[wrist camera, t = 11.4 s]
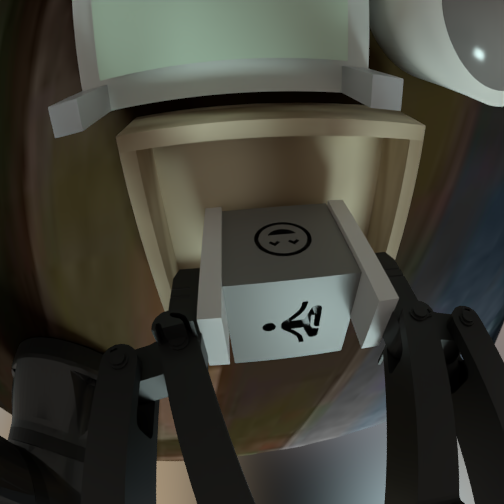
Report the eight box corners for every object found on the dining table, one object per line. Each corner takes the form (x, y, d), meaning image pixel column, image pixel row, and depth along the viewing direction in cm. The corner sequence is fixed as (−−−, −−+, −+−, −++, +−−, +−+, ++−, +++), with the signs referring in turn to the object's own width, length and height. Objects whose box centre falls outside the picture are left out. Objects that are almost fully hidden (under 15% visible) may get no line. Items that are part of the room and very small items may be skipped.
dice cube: (318, 279, 18) (340, 350, 14) (231, 287, 18) (235, 362, 14) (325, 203, 15) (361, 272, 11) (221, 211, 14) (221, 286, 11)
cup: (364, 70, 12) (423, 89, 8) (362, -57, 8) (418, -84, 4) (470, 90, 12) (533, 120, 8) (473, -17, 8) (539, -13, 4)
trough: (176, 293, 20) (171, 330, 17) (136, 117, 13) (115, 136, 10) (362, 277, 20) (377, 311, 18) (392, 107, 13) (425, 125, 11)
